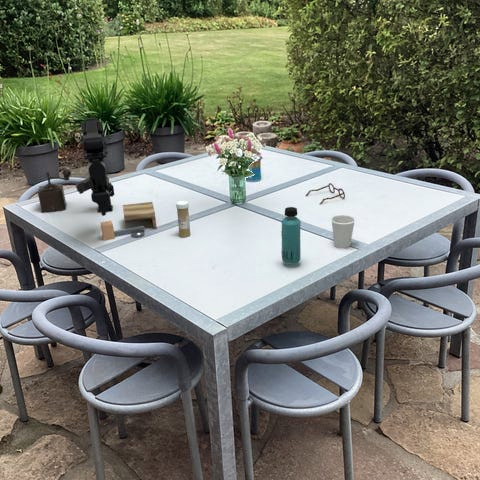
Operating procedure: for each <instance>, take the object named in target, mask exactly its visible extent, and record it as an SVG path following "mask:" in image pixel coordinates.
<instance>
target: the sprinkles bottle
mask: <svg viewBox="0 0 480 480" xmlns="http://www.w3.org/2000/svg"><path fill="white" fill-rule="evenodd" d="M175 206H176V207H175V208H176V210H177V212H176V214H177V226H178V235H179V237H181V238H188V237H190V236H191V234H192V233H191V225H190V224H191V223H190V212H189V207H190V206H189V202H188V201H187V200H179V201H177V202H176V203H175Z"/></svg>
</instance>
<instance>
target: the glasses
mask: <svg viewBox="0 0 480 480" xmlns="http://www.w3.org/2000/svg"><path fill="white" fill-rule="evenodd" d="M331 186H332V189H333V190H331ZM326 188H328V190H329V192H330V193H331V194H334V193H335V191H337V192H338V194H336V195H334V196H331V197H326V198H325V197H324V198H323V199H322V200H321V202H320V203H319V205H320V206H321V205H322V204H323V203H324V202H325V201H326V200H327V201H328V200H333V199H335V198H337V197H340V198H341V199H343V200H345V198H346V193H345V191H344V190H343V188H337V187H335V186H334V185H333V183H328V184H327V185H325V186H322V187H319V188H318V189H310V190H308V191H307V193H306V194H305V197H308V196H309V194H310V193H311V192H319V191H321V190H324V189H326ZM341 192H342V193H341Z"/></svg>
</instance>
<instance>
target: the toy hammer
mask: <svg viewBox="0 0 480 480" xmlns="http://www.w3.org/2000/svg"><path fill="white" fill-rule="evenodd" d="M100 228H101V235H102V238H103V240H104V241H109V240H114V239H116V238H117V237H118V238H119V237H123V236H127V235H128V236H129V235H131V232H132V231H134V230H144V232H145V226H144V225H139V226H136V227H130V228H124V229H120V230H119V229H118V230H115V229H114V223H113V222H112V220H106V221H101V222H100Z"/></svg>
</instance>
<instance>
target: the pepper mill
mask: <svg viewBox="0 0 480 480" xmlns="http://www.w3.org/2000/svg"><path fill="white" fill-rule="evenodd" d="M61 173H62V175H63V177H61V176H54V175H53V176H51V175H50V172H48V171H47V172H46V173H45V174H46V176H45V177H46V178H47V182H48V183H47V184H45V185H41V186H39V188H38V191H37V195H38V201H39V206H40V210H41V213H42V214H44V213H54V212H61V211H64V210H66V209H67V201H66V196H65V190H64V189H65V188H64V185H63V183H60V184H59V183H58V184H57V183H53V182H52V183H51V179H54V180H56V179H57V180H64V181H65V182H67V181H70V176H72V171H71V170H70V169H68V168H64V169H63V170H62V172H61Z"/></svg>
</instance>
